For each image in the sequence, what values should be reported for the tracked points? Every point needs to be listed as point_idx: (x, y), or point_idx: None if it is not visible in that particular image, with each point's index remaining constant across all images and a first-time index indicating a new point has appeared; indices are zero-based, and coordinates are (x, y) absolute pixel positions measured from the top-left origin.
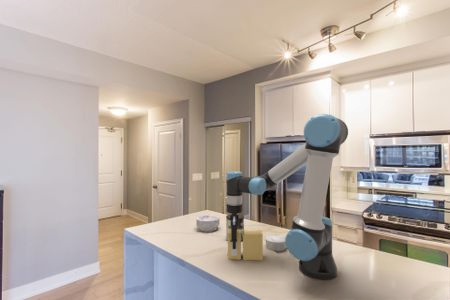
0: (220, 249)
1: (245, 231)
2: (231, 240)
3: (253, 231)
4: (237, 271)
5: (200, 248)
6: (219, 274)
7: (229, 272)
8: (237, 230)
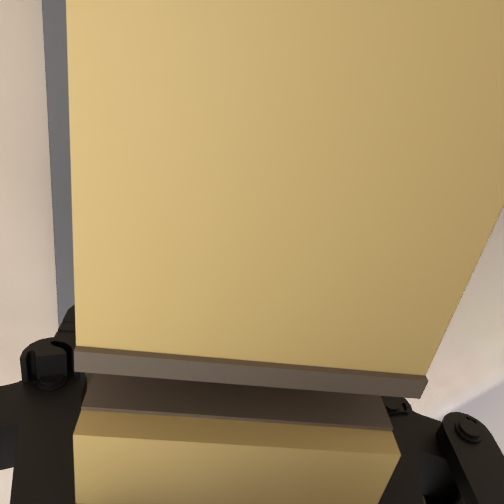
0: (3, 353)
1: (193, 317)
2: (459, 501)
3: (204, 19)
4: (492, 241)
5: (10, 487)
6: (486, 367)
7: (484, 303)
8: (152, 498)
